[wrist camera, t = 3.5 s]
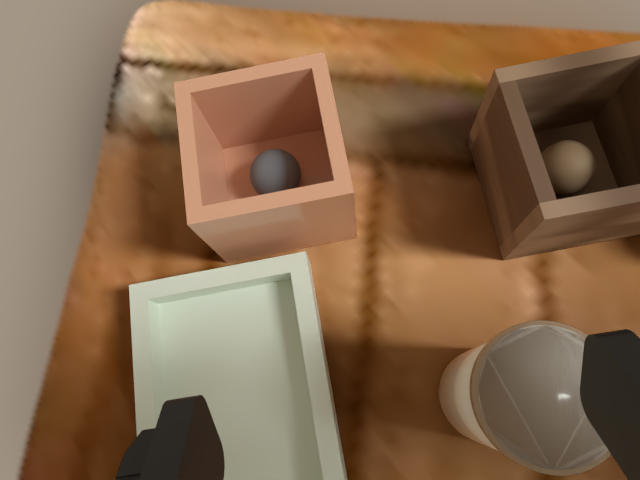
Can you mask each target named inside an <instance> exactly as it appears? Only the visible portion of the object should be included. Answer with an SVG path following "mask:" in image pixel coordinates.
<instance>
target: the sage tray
mask: <svg viewBox="0 0 640 480" xmlns="http://www.w3.org/2000/svg"><path fill="white" fill-rule="evenodd" d="M129 298H130V317H131V336H132V355H133V374H134V393H135V412H136V431H137V436H138V435H139V434H140V432H141V431H142V430H146V429H152V428H156V424H157V421H158V418H159V415H160V412H161V409H162V406H163V404H164V402H165V401H167V400H171V399H178V398H184V397H190V396H197V395H202V396H203V397H204V398H205V400H206V402H207V405H208V408H209V410H210V413H211V416H212V418H213V421H214V424H215V427H216V429H217V432H218V435H219V437H220V440H221V443H222V447H223V452H224V463H225V469H224V479H223V480H348V479H347V473H346V467H345V462H344V456H343V450H342V444H341V438H340V432H339V427H338V421H337V415H336V409H335V403H334V397H333V392H332V386H331V380H330V374H329V368H328V362H327V357H326V351H325V345H324V339H323V333H322V328H321V322H320V316H319V310H318V304H317V298H316V293H315V287H314V281H313V275H312V269H311V263H310V261H309V258H308V256H307V254H306V251H305V252H300V253H295V254H289V255H284V256H279V257H274V258H268V259H263V260H258V261H253V262H247V263H242V264H237V265H232V266H226V267H221V268H216V269H211V270H205V271H200V272H195V273H190V274H184V275H179V276H174V277H169V278H163V279H158V280H153V281H148V282H143V283H137V284H132V285H129Z"/></svg>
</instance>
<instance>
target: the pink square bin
mask: <svg viewBox="0 0 640 480" xmlns="http://www.w3.org/2000/svg"><path fill="white" fill-rule="evenodd" d="M174 89H175V100H176V111H177V121H178V132H179V143H180V153H181V164H182V175H183V185H184V196H185V207H186V217H187V225H188V226H189V227H190V228H191V229H192V230H193V231H194V232H195V233H196V234H197V235H198V236H199V237H200V238H201V239H202V240H203V241H205V242H206V243H207V244H208V245H209V246H210V247H211V248H212V249H213V250H214V251H215V252H216V253H217V254H218V255H219V256H220V257H221V258H222V259H223V260H225V261H226V262H233V261H238V260H243V259H248V258H253V257H259V256H264V255H269V254H274V253H280V252H285V251H290V250H295V249H301V248H306V247H311V246H316V245H322V244H327V243H332V242H337V241H343V240H348V239H353V238H357V234H356V217H355V201H354V190H353V185H352V181H351V176H350V171H349V166H348V162H347V157H346V152H345V147H344V142H343V138H342V133H341V128H340V123H339V119H338V114H337V109H336V104H335V99H334V95H333V90H332V85H331V80H330V76H329V71H328V66H327V61H326V56H325V52H322V53H317V54H313V55H308V56H303V57H298V58H293V59H288V60H283V61H278V62H273V63H268V64H263V65H259V66H254V67H249V68H244V69H239V70H234V71H229V72H224V73H219V74H214V75H209V76H205V77H200V78H195V79H190V80H185V81H180V82H175V83H174ZM269 149H282V150H285V151H287V152H289V153H290V154H291V155H293V156H294V157H295V159H296V160H297V162H298V163H299V166H300V169H301V180H300V184H299V186H298V188H293V189H288V190H283V191H278V192H273V193H268V194H263V195H259V194H258V193H257V192H256V191H255V189H254V188H253V186H252V184H251V181H250V167H251V164H252V162H253V161H254V159H255V158H256V157H257V156H258V155H259V154H260V153H262V152H263V151H266V150H269Z"/></svg>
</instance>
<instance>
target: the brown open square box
mask: <svg viewBox="0 0 640 480" xmlns="http://www.w3.org/2000/svg"><path fill="white" fill-rule="evenodd" d="M467 140H468V143H469V147H470V150H471V154H472V157H473V160H474V164H475V167H476V170H477V174H478V177H479V180H480V184H481V187H482V191H483V194H484V197H485V201H486V204H487V207H488V211H489V214H490V217H491V221H492V224H493V228H494V231H495V234H496V238H497V241H498V244H499V248H500V251H501V254H502V258H503V260H508V259H513V258H519V257H524V256H529V255H535V254H540V253H545V252H551V251H556V250H561V249H567V248H572V247H577V246H583V245H588V244H593V243H598V242H604V241H609V240H614V239H620V238H625V237H630V236H636V235H640V41H635V42H630V43H625V44H620V45H615V46H610V47H605V48H600V49H595V50H590V51H585V52H580V53H575V54H570V55H565V56H560V57H555V58H550V59H545V60H540V61H535V62H530V63H525V64H520V65H515V66H510V67H505V68H500V69H495V70H494V72H493V75H492V77H491V80H490V83H489V85H488V88H487V90H486V93H485V95H484V98H483V100H482V103H481V105H480V108H479V110H478V113H477V116H476V118H475V121H474V123H473V126H472V128H471V131H470V133H469V136H468V138H467ZM565 140H572V141H577V142H580V143H582V144H584V145H585V146H587V147H588V148H589V149H590V150H591V151H592V153H593V155H594V157H595V160H596V172H595V175H594V177H593V179H592V181H591V182H590V183H589V185H588V186H587V187H585V188H584V189H583V190H581V191H579V192H577V193H574V194H569V195H559V194H555V193H554V190H553V187H552V184H551V181H550V178H549V175H548V172H547V170H546V167H545V164H544V161H543V158H542V155H541V153H542V152H543V151H544V150H545V149H546V148H547V147H549V146H550V145H552V144H554V143H556V142H559V141H565Z"/></svg>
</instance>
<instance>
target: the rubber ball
mask: <svg viewBox="0 0 640 480" xmlns="http://www.w3.org/2000/svg"><path fill="white" fill-rule="evenodd" d="M300 180H301V169H300V166H299V163H298V162H297V160H296V159H295V157H294V156H293V155H291V154H290V153H289V152H287V151H285V150H282V149H269V150H266V151H263V152H262V153H260V154H259V155H258V156H257V157H256V158H255V159H254V161H253V162H252V164H251V167H250V181H251V184H252V186H253V188H254V189H255V191H256V192H257V193H258V194H259V195H263V194H268V193H273V192H278V191H283V190H288V189H293V188H298V186H299V184H300Z"/></svg>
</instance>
